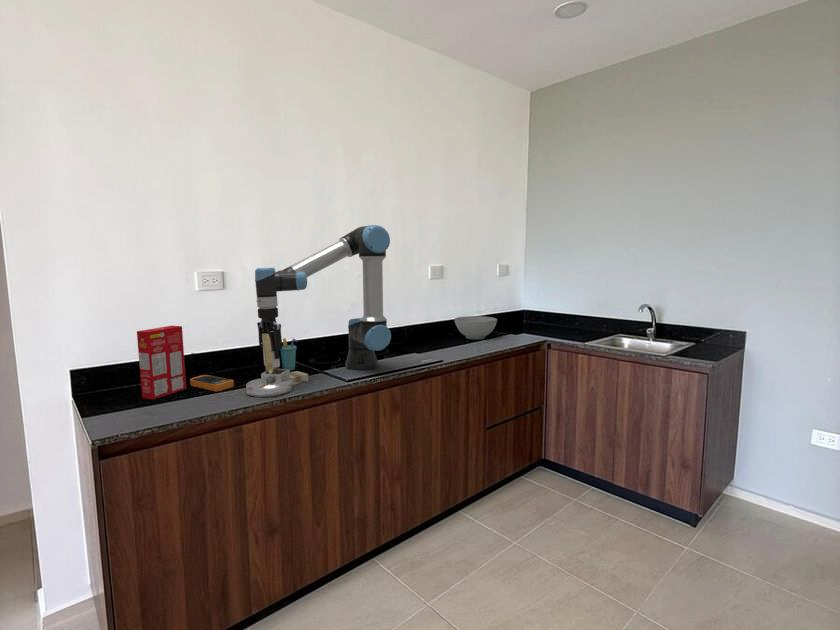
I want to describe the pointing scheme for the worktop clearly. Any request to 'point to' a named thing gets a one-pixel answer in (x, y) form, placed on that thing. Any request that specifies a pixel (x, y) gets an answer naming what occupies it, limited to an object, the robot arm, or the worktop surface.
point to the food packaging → (161, 361)
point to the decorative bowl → (475, 326)
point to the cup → (288, 354)
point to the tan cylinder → (268, 354)
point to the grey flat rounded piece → (270, 384)
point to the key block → (298, 377)
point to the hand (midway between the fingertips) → (272, 365)
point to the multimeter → (211, 383)
